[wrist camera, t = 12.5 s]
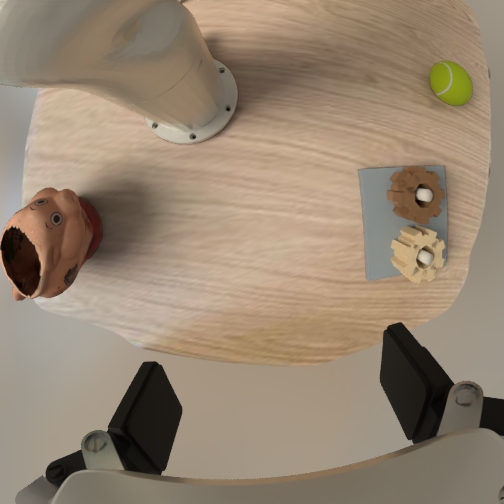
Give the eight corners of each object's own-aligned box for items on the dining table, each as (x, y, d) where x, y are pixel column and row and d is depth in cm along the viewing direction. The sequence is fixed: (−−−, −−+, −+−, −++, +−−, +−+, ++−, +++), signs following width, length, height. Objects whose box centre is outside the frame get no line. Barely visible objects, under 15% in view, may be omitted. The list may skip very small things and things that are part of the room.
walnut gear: (384, 168, 31) (398, 167, 27) (426, 166, 31) (442, 166, 27) (388, 221, 33) (402, 227, 29) (429, 216, 32) (445, 221, 29)
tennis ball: (423, 102, 29) (450, 92, 22) (418, 62, 27) (442, 48, 21) (456, 113, 29) (484, 107, 22) (451, 75, 27) (476, 65, 20)
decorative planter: (80, 304, 39) (32, 345, 26) (37, 259, 37) (-16, 286, 24) (132, 209, 35) (71, 228, 21) (78, 161, 33) (12, 162, 20)
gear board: (357, 169, 32) (375, 168, 27) (439, 165, 31) (464, 166, 26) (365, 278, 36) (381, 295, 30) (441, 262, 35) (463, 275, 30)
